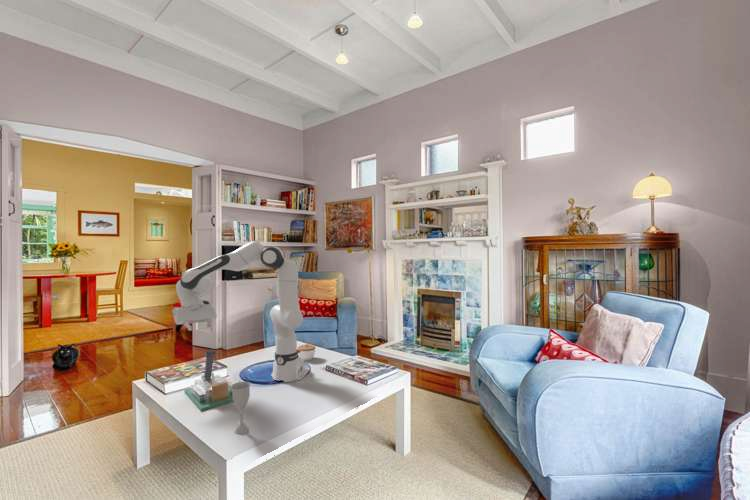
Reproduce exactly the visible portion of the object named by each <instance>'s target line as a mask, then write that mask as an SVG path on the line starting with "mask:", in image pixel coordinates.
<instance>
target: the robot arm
mask: <svg viewBox="0 0 750 500" xmlns="http://www.w3.org/2000/svg"><path fill="white" fill-rule="evenodd" d="M285 254H286V253H285V252H284V250H283V249H282V248H280V247H278V246H274V245H273V246H267V247H265V246H264V245H263V244H262V243H261V242H260V241H257V240H253V241H250V242H248V243H246V244H244V245H241V246H240V247H239V248H237V249H236V250H234V251H231V252H229V253H226V254H223V255H219V256H216V257H214V258H213V259H211V260H208V261H206V262H204V263H202V264H201V265H199V266H196V267H194V268H189V269H187V270H185V271H184V272H183V273H182V274H181V276H180V279H179V280H178V281H177V282H176V285H175V290H176V294H177V297H178V300H180V305H181V306H175V307H174V308H171V312H172V315H173V319H174V320H173V321H174V323H175V325H177V326H178V325H183V326H184V327H186V328H187V330H188V331H189V332H190V331H193V329H194V327H193V325H190V324H195V323H196V324H197V323H206V324H207V325H206V329H211V328H212V325H211V324H212V322H214V321H215V320H216V318H217V317H218V315H217V312H216V310H215V309H214V307H213V306H212V302H211V301H210V300H205V299H201V297H204V296H206V295H208V294H210V293H211V292H212V291H213V290H214V287H215V282H214V280H213V279H212V278H211V277H209V275H211V274H213V273H215V272H217V271H221V270H223V271H224V270H227V271H233V272H241V271H243V270H244V271H245V270H246V269H248V268H249V267H251V266H253V265H254V264H255V263H258V262H259V261H260V262H261V263H262V264H263V265H264V266H266V267H268V268H271V269H274V270H276V273H277V277H276V278H277V279H276V297H277V299H278V304H276V305H275V304H274V306H273V307H272V308H271V309H270V310H269V317H270V319H271V322H272V328H273V332H274V337H275V338H274V339H275V352H274V360H273V364H272V366H273V367H272V373H270V377H272V380H273V379H274V380H283V381H284V382H283V383H291V382H295V381H301V380H303V379H304V378H305V376H306V375H308V373H309V371H310V368H309V367H308V366H306V361H304V360H303V359H302V358H300V357H299V354H298V353H300V352H301V350H300V349H298V347H297V339H298V338H297V334H296V332H295V329H298V328H299V327H301V325H302V324H303V320H304V315H303V313H302V311H301V309H300V308H301V307H300V302H299V293H298V291H299V267H298V263H297V262H296V261H294V260H293V259H287V258H286V255H285ZM274 380H273V381H274Z"/></svg>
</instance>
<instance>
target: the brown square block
mask: <svg viewBox="0 0 750 500" xmlns="http://www.w3.org/2000/svg"><path fill="white" fill-rule="evenodd" d="M210 394H211V402H212V403H213V402H216V401H220V400H223V399H227V398H228V382H226V381H225V382H222V383H218V384H214V385H210Z"/></svg>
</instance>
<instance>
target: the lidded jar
mask: <svg viewBox="0 0 750 500" xmlns="http://www.w3.org/2000/svg"><path fill="white" fill-rule="evenodd" d="M297 349H300V350H301V352H300V353H298V355H299V357H300V358H302V359H303V360H304V361H305V362H306V361H312V359H313V358H314V357H315V355H316V345H314V344H308V343H305V344H302V345H299V346H298V347H297Z"/></svg>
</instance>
